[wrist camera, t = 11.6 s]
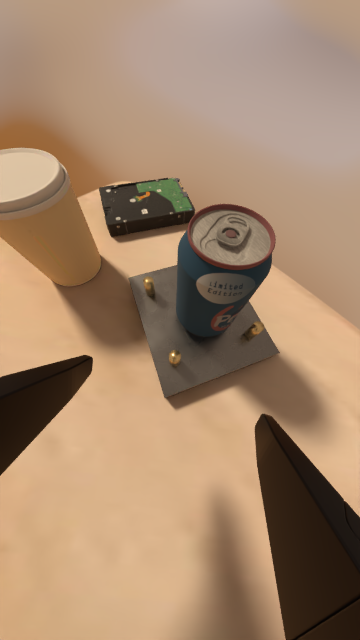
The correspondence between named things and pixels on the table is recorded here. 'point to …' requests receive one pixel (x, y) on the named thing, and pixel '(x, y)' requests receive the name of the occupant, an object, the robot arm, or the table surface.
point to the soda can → (221, 266)
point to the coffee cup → (45, 217)
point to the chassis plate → (193, 337)
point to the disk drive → (145, 206)
